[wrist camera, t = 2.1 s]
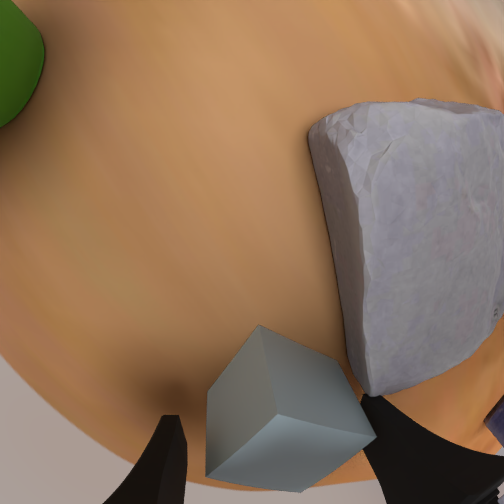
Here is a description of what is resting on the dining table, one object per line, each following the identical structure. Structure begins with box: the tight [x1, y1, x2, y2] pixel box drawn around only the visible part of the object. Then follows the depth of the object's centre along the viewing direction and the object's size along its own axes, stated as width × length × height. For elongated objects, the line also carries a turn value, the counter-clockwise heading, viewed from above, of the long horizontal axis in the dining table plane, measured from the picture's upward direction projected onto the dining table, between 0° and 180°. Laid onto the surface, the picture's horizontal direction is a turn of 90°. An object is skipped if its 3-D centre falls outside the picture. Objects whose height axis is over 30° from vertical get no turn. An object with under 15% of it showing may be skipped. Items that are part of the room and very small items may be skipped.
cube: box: [205, 325, 377, 493], centre depth 11 cm, size 4×4×5 cm
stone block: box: [308, 98, 504, 397], centre depth 10 cm, size 12×5×10 cm
